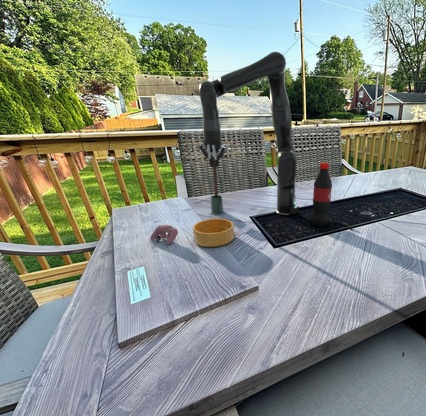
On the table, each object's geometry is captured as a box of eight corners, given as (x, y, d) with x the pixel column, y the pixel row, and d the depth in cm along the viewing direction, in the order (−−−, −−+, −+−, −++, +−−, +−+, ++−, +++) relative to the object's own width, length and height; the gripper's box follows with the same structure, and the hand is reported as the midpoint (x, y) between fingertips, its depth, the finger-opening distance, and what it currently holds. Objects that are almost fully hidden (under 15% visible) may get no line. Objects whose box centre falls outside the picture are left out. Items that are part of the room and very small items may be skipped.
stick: (218, 196, 132) (216, 156, 125) (217, 197, 130) (214, 156, 124) (215, 196, 132) (213, 156, 125) (214, 196, 131) (211, 156, 124)
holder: (225, 212, 136) (224, 195, 133) (219, 216, 131) (218, 198, 128) (215, 211, 137) (214, 194, 134) (209, 214, 132) (208, 197, 129)
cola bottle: (330, 223, 129) (336, 162, 119) (324, 229, 122) (330, 165, 112) (315, 220, 132) (319, 160, 122) (308, 225, 125) (312, 163, 115)
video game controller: (177, 244, 104) (181, 227, 105) (168, 244, 100) (172, 226, 100) (157, 240, 107) (162, 223, 108) (148, 239, 103) (152, 222, 103)
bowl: (240, 233, 113) (239, 220, 111) (223, 250, 99) (222, 236, 97) (207, 229, 115) (206, 216, 113) (186, 245, 101) (184, 231, 99)
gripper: (229, 130, 123) (231, 166, 129) (202, 128, 125) (205, 164, 131) (221, 130, 116) (224, 169, 122) (193, 129, 118) (197, 167, 124)
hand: (214, 166), depth 126 cm, fingers closed on stick, 1 cm apart
